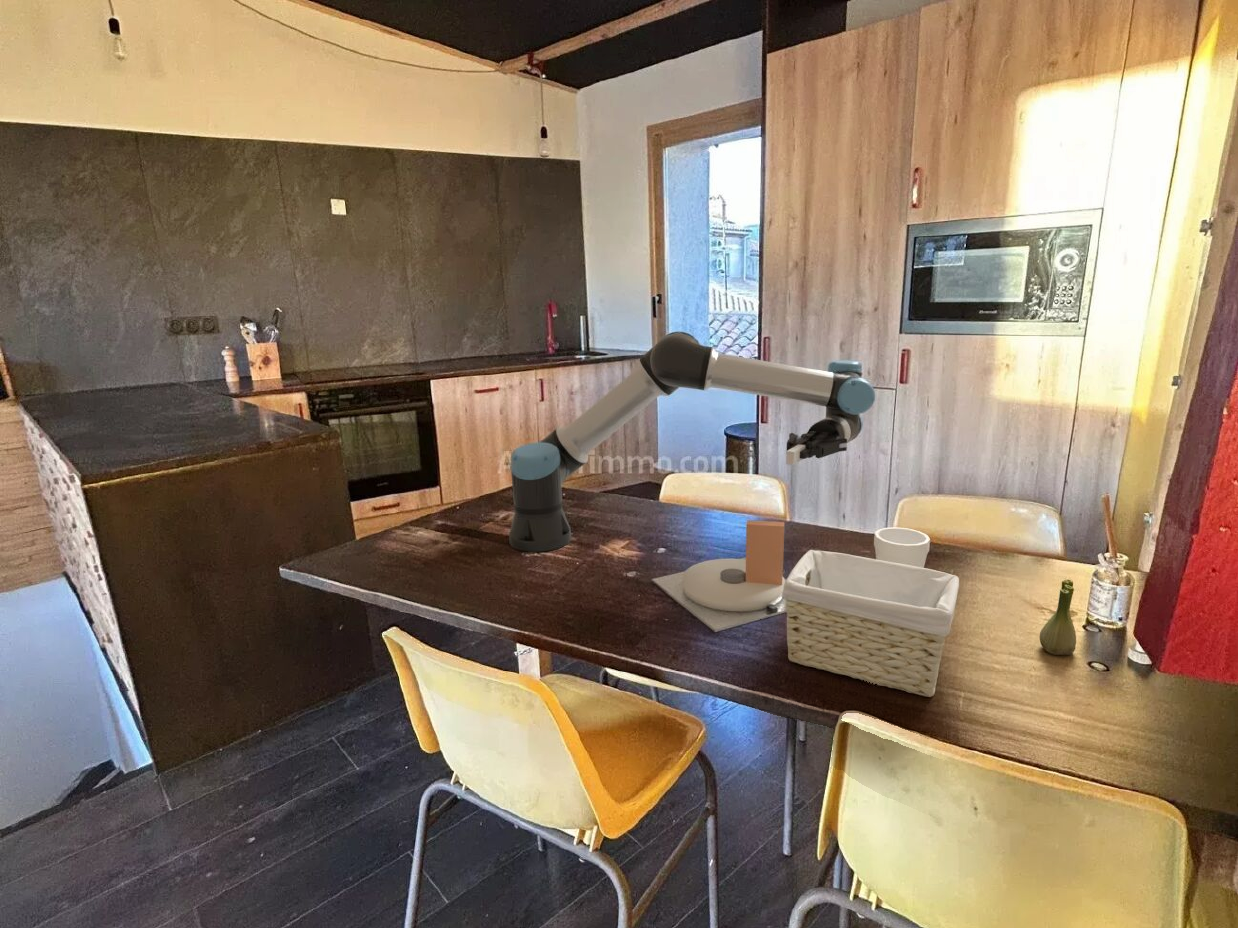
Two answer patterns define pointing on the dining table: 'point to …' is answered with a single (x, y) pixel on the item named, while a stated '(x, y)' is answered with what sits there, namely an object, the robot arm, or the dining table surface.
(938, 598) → the storage basket
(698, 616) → the base plate
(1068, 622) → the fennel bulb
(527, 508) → the robot arm
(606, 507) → the dining table surface
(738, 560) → the dial
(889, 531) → the foam cup
